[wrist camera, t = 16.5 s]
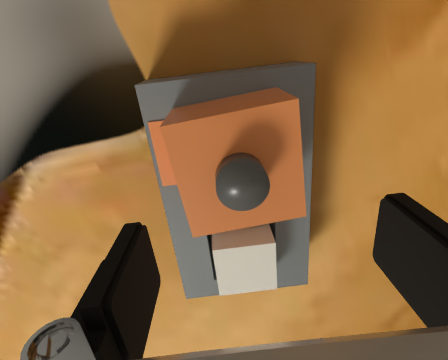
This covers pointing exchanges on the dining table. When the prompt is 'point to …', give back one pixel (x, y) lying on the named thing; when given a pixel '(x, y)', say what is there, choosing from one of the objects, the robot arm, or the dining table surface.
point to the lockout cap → (237, 160)
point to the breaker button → (245, 260)
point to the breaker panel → (177, 220)
